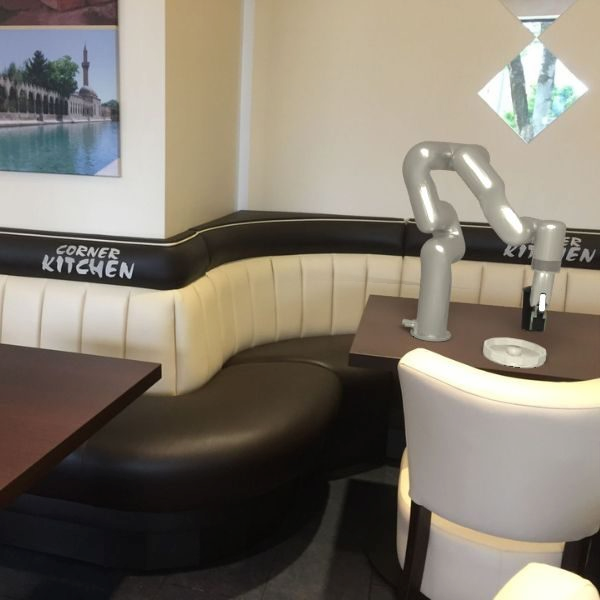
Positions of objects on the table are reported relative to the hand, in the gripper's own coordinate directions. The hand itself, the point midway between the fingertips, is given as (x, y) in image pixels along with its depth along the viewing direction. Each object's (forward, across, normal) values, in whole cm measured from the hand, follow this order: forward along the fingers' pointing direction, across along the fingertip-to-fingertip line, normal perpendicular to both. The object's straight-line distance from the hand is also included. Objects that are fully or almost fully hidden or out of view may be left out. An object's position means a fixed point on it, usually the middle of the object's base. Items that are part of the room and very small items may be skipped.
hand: (537, 328), depth 170 cm
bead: (0, 0, 0) cm, 0 cm away
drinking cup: (+10, -31, 0) cm, 33 cm away
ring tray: (+10, 0, -5) cm, 11 cm away
